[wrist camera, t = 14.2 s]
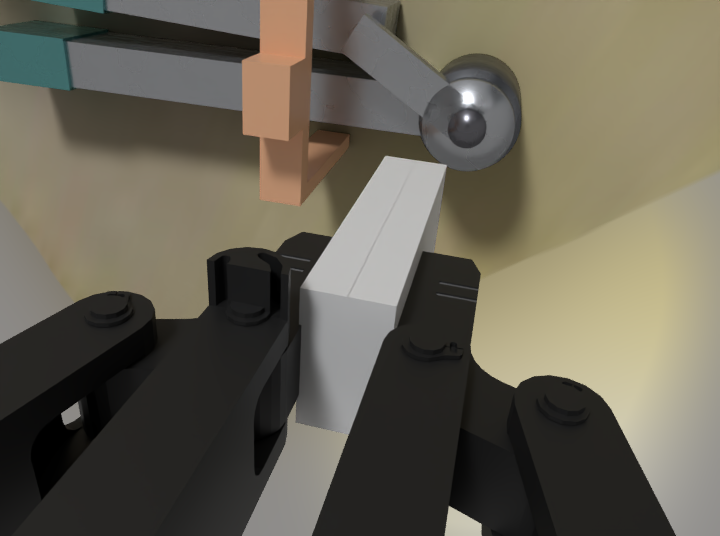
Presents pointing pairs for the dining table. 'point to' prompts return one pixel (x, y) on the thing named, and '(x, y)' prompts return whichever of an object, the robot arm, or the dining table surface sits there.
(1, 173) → the dining table surface
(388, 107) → the ball-hinged grey bar
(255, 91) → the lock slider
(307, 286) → the robot arm
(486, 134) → the block
